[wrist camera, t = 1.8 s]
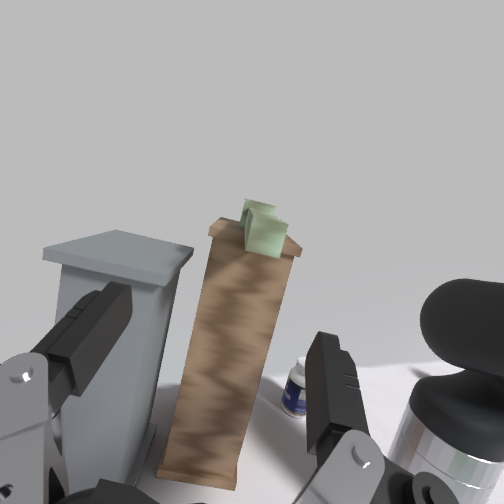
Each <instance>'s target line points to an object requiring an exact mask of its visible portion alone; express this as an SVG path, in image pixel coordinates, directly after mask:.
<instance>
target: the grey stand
mask: <svg viewBox="0 0 504 504" xmlns="http://www.w3.org/2000/svg"><path fill="white" fill-rule="evenodd" d="M193 251H194V248H192V247H188V246H184V245H179V244H175V243H171V242H166V241H162V240H158V239H153V238H149V237H145V236H141V235H136V234H132V233H127V232H123V231H119V230H113V231H109V232H105V233H101V234H97V235H93V236H89V237H85V238H81V239H77V240H73V241H69V242H65V243H61V244H57V245H53V246H49V247H45V248H44V250H43V260H47V261H51V262H57V263H60V264H62V270H61V278H60V286H59V294H58V302H57V310H56V318H55V325H56V324H57V323H58V322H59V321H60V320H61V319H62V318H63V317H65V314H66V313H67V312H68V311H69V310H70V309H72V308H73V306H74V305H75V304H76V303H77V302H78V301H79V300H80V299H81V297H83V296H85V295H86V294H88V293H90V292H92V291H94V290H98V291H102V290H103V288H104V287H105V286H106V285H107V284H108V283H109V282H110V281H116V282H120V283H125V284H129V285H131V287H132V304H133V313H132V317H131V320H130V322H129V324H128V326H127V327H126V329H125V330H124V332H123V333H122V335H121V336H120V338H119V339H118V341H117V342H116V344H115V345H114V347H113V348H112V350H111V351H110V353H109V354H108V356H107V357H106V359H105V360H104V362H103V364H102V365H101V367H100V368H99V370H98V371H97V373H96V374H95V376H94V377H93V379H92V380H91V382H90V383H89V385H88V386H87V388H86V389H85V391H84V392H83V394H82V395H81V397H77V396H73V395H69V396H68V398H67V399H66V401H65V402H64V403H63V421H64V444H65V462H66V468H67V473H68V481H69V495H71V494H73V493H76V492H78V491H81V490H85V489H89V488H96V485H97V483H98V481H99V479H100V478H102V479H106V480H110V481H114V482H118V483H122V484H126V485H131V486H134V487H135V485H136V483H137V480H138V477H139V475H140V472H141V469H142V467H143V464H144V461H145V459H146V456H147V453H148V451H149V448H150V445H151V443H152V440H153V437H154V435H155V432H156V428H157V424H151V423H149V422H150V417H151V412H152V407H153V402H154V397H155V392H156V387H157V382H158V377H159V372H160V367H161V362H162V358H163V353H164V347H165V342H166V338H167V333H168V328H169V323H170V318H171V313H172V308H173V303H174V298H175V294H176V288H177V284H178V279H179V274H180V269H181V268H182V267H183V266H184V264H185V263H186V262H187V261H188V260H189V259H190V257H191V256H192V255H193Z"/></svg>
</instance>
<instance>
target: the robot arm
mask: <svg viewBox="0 0 504 504" xmlns="http://www.w3.org/2000/svg"><path fill="white" fill-rule="evenodd" d="M132 313H133V304H132V287H131V285H129V284H125V283H120V282H116V281H110V282H109V283H108V284H107V285H106V286H105V287H104V288H103V290H102V291H98V290H94V291H92V292H90V293H88V294H86V295H85V296H83V297H81V299H80V300H79V301H78V302H77V303H76V304H75V305H74V306H73V308H72V309H70V310H69V311H68V312H67V313H66V314H65V317H63V318H62V319H61V320H60V321H59V322H58V323H57V324H56V325H55V326H54V327H53V328H52V329H51V330H50V331H49V333H48V334H47V335H46V336H45V337H44V338H43V339H42V340H41V341H40V342H39V343H38V344H37V345H36V346H35V347H34V348H33V349H32V350H31V351H30V352H29V353H23V354H19V355H16V356H14V357H12V358H10V359H8V360H7V361H5V362H4V363H3V364H0V504H159V503H158V502H156V501H155V500H153V499H152V498H150V497H149V496H147V495H146V494H144V493H143V492H141V491H140V490H138V489H137V488H135V487H134V486H131V485H126V484H122V483H118V482H114V481H110V480H106V479H102V478H100V479H99V481H98V483H97V485H96V488H89V489H85V490H81V491H78V492H76V493H73V494H71V495H69V481H68V473H67V468H66V462H65V444H64V421H63V403H64V402H65V401H66V399H67V398H68V396H69V395H73V396H77V397H81V395H82V394H83V392H84V391H85V389H86V388H87V386H88V385H89V383H90V382H91V380H92V379H93V377H94V376H95V374H96V373H97V371H98V370H99V368H100V367H101V365H102V364H103V362H104V360H105V359H106V357H107V356H108V354H109V353H110V351H111V350H112V348H113V347H114V345H115V344H116V342H117V341H118V339H119V338H120V336H121V335H122V333H123V332H124V330H125V329H126V327H127V326H128V324H129V322H130V320H131V317H132ZM420 327H421V331H422V334H423V337H424V339H425V341H426V343H427V344H428V346H429V348H430V349H431V350H432V351H433V352H434V353H435V354H436V355H437V356H438V357H440V358H441V359H442V360H444V361H445V362H447V363H449V364H452V365H454V366H457V367H460V368H463V369H466V370H464V371H462V372H459V373H456V374H451V375H444V376H430V377H425V378H422V379H420V380H419V381H418V382H417V383H416V384H415V386H414V388H413V391H412V393H411V396H410V399H409V401H408V404H407V406H406V409H405V411H404V414H403V416H402V419H401V422H400V424H399V427H398V430H397V432H396V435H395V437H394V440H393V442H392V445H391V448H390V450H389V453H388V455H387V458H386V457H385V456H384V455H383V454H382V452H381V450H380V448H379V446H378V445H377V444H376V442H375V441H374V440H373V439H372V438H371V436H370V434H369V430H368V425H367V420H366V415H365V410H364V406H363V401H362V396H361V391H360V390H359V388H360V386H359V381H358V379H357V377H358V376H357V371H356V366H355V363H354V361H353V360H352V358H351V356H350V354H349V353H348V352H347V351H343V350H340V344H339V338H338V336H337V335H333V334H329V333H325V332H320V331H319V332H318V333H317V335H316V337H315V339H314V341H313V343H312V345H311V347H310V349H309V351H308V353H307V356H306V360H305V395H306V428H307V453H308V454H312V455H316V456H317V467H316V469H315V470H314V472H313V473H312V475H311V476H310V478H309V479H308V480H307V482H306V483H305V485H304V486H303V488H302V489H301V491H300V492H299V494H298V495H297V497H296V498H295V500H294V501H293V503H292V504H486V503H487V501H488V499H489V497H490V495H491V493H492V491H493V489H494V486H495V484H496V482H497V480H498V478H499V476H500V474H501V471H502V469H503V467H504V283H497V282H487V281H480V280H473V279H456V280H452V281H449V282H446V283H444V284H442V285H441V286H439V287H438V288H436V289H435V290H434V291H433V292H432V293H431V294H430V295H429V296H428V298H427V299H426V301H425V302H424V304H423V307H422V309H421V314H420ZM194 504H205V503H194Z"/></svg>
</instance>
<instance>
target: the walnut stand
mask: <svg viewBox="0 0 504 504" xmlns="http://www.w3.org/2000/svg"><path fill="white" fill-rule="evenodd" d="M239 225H240V222H239V221H234V220H230V219H226V218H219V219H218V220H217V221H216V222H215V223H213V224H212V225H211V226H210V229H209V234H208V236H212V237H213V240H212V244H211V249H210V253H209V258H208V262H207V267H206V271H205V276H204V280H203V285H202V289H201V295H200V299H199V303H198V308H197V312H196V317H195V322H194V326H193V331H192V336H191V339H190V344H189V349H188V353H187V358H186V363H185V367H184V372H183V376H182V380H181V385H180V389H179V394H178V398H177V403H176V408H175V412H174V417H173V421H172V425H171V428H170V431H169V434H168V438H167V441H166V444H165V447H164V450H163V453H162V456H161V460H160V463H159V466H158V469H157V473H156V477H157V478H163V479H169V480H174V481H180V482H186V483H192V484H198V485H204V486H210V487H215V488H221V489H227V490H233V491H234V490H235V487H236V483H237V462H238V458H239V454H240V451H241V447H242V444H243V440H244V436H245V433H246V429H247V426H248V422H249V418H250V415H251V411H252V407H253V404H254V400H255V397H256V393H257V389H258V386H259V382H260V379H261V375H262V371H263V368H264V364H265V360H266V357H267V353H268V350H269V346H270V342H271V339H272V335H273V332H274V328H275V324H276V320H277V317H278V314H279V310H280V306H281V303H282V299H283V295H284V292H285V288H286V284H287V281H288V277H289V274H290V270H291V267H292V263H293V259H294V256H296V257H300V255H301V251H302V248H301V247H300V246H299V245H298V244H297V243H295V242H294V241H293V240H292V239H291V238H290V237H289V236H287V235H286V236H285V239H284V243H283V247H282V251H281V254H280V258H276V257H271V256H267V255H263V254H259V253H254V252H250V251H246V250H245V227H243V226H239Z"/></svg>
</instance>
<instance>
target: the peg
mask: <svg viewBox="0 0 504 504" xmlns="http://www.w3.org/2000/svg"><path fill="white" fill-rule="evenodd" d="M274 209H275V206H273V205H269V204H265V203H261V202H257V201H253V200H249V199H245V203H244V207H243V211H242V216H241V220H240V225H239V226H243V227H245V250H246V251H250V252H254V253H259V254H263V255H267V256H271V257H276V258H280V254H281V251H282V247H283V243H284V239H285V236H286V232H287V228H288V224H287V223H286V222H284V221H282V220H281V219H279V218H277V217H275V216H274V215H273V214H274Z"/></svg>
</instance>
